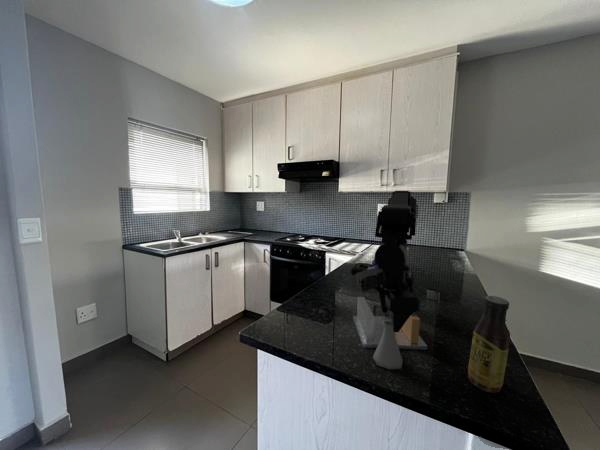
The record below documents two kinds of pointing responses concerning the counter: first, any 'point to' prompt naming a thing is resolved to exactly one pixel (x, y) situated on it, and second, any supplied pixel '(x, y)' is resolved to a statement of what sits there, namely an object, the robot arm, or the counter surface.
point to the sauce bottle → (490, 346)
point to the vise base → (378, 329)
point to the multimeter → (360, 268)
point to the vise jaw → (412, 328)
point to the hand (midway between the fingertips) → (389, 321)
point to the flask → (388, 349)
